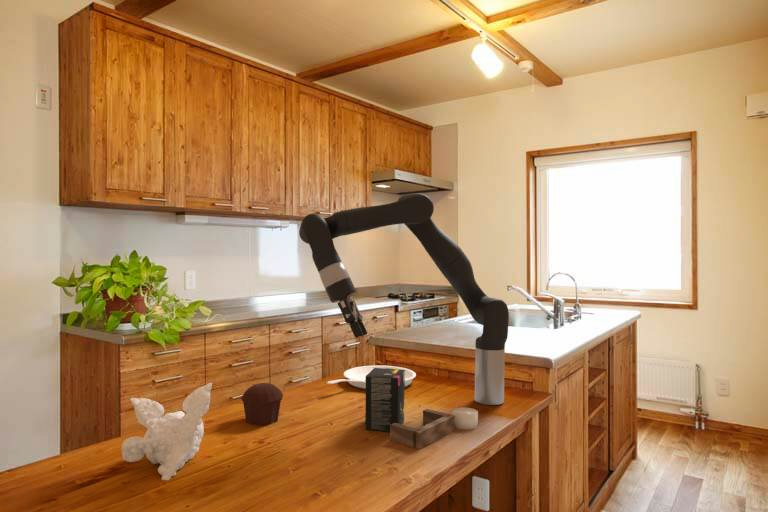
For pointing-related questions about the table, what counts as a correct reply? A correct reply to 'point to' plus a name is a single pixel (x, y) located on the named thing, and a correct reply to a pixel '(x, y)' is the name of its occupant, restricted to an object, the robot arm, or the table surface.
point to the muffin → (262, 404)
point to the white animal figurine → (168, 432)
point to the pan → (358, 374)
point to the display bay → (424, 429)
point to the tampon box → (384, 398)
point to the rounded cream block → (465, 418)
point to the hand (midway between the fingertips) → (361, 336)
